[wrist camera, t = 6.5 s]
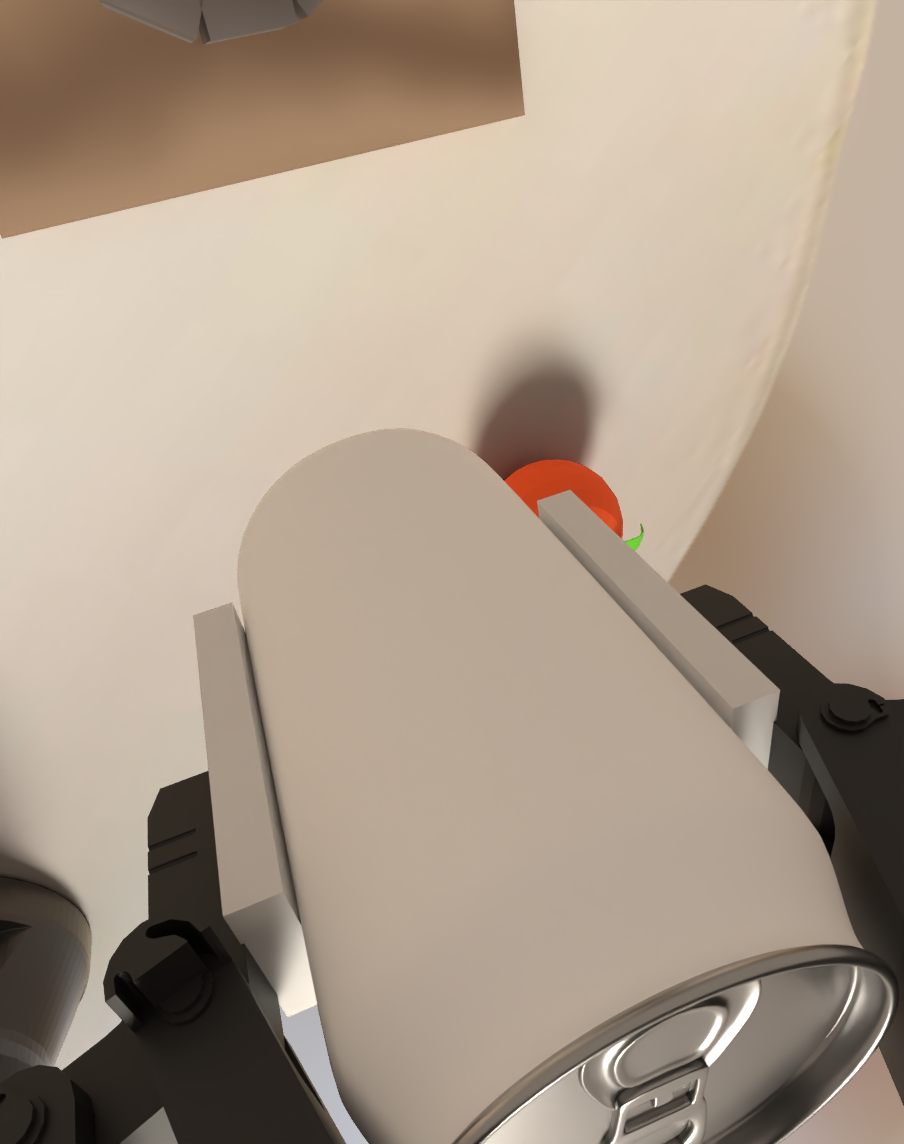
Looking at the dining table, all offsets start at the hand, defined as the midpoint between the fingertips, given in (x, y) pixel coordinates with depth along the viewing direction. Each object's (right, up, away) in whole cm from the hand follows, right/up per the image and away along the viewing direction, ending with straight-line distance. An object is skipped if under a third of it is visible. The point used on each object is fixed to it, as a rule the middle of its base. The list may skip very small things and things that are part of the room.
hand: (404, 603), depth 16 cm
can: (-1, +1, +2) cm, 2 cm away
